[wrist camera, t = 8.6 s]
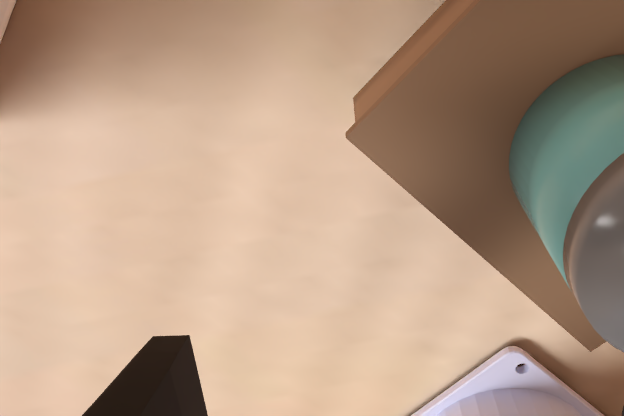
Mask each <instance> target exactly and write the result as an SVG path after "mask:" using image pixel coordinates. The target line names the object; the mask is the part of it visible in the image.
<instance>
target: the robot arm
mask: <svg viewBox="0 0 624 416" xmlns="http://www.w3.org/2000/svg"><path fill="white" fill-rule="evenodd" d="M519 364H524V365H523V366H521V367H517V365H519ZM82 416H208V415H207V410H206V406H205V402H204V397H203V393H202V388H201V384H200V380H199V375H198V371H197V367H196V362H195V358H194V353H193V349H192V345H191V340H190V336H189V335H183V336H153V337H152V338H151V339H150V340H149V341H148V342H147V343H146V345H145V346H144V347H143V348H142V349H141V350H140V351H139V352H138V353H137V354H136V356H135V357H134V358H133V359H132V360H131V361H130V362H129V363H128V365H127V366H126V367H125V368H124V369H123V370H122V371H121V373H120V374H119V375H118V376H117V377H116V378H115V379H114V380H113V382H112V383H111V384H110V385H109V386H108V387H107V388H106V389H105V391H104V392H103V393H102V394H101V395H100V396H99V397H98V398H97V400H96V401H95V402H94V403H93V404H92V405H91V406H90V407H89V408H88V409H87V411H86V412H85V413H84V414H83V415H82ZM411 416H604V415H603V414H602V413H601V412H599V411H598V410H597V409H596V408H594V407H593V406H592V405H591V404H589V403H588V402H587V401H586V400H584V399H583V398H582V397H581V396H580V395H578V394H577V393H576V392H575V391H573V390H572V389H571V388H570V387H568V386H567V385H566V384H565V383H563V382H562V381H561V380H560V379H558V378H557V377H556V376H555V375H554V374H552V373H551V372H550V371H549V370H547V369H546V368H545V367H544V366H542V365H541V364H540V363H539V362H537V361H536V360H535V359H534V358H532V357H531V356H530V355H529V354H528V353H526V352H525V351H524V350H523V349H521V348H519V347H517V346H509V347H506V348H504V349H502V350H501V351H499V352H498V353H497V354H495V355H494V356H492V357H491V358H490V359H488V360H487V361H486V362H484V363H483V364H481V365H480V366H479V367H477V368H476V369H474V370H473V371H472V372H470V373H469V374H468V375H466V376H465V377H463V378H462V379H461V380H459V381H458V382H457V383H455V384H454V385H452V386H451V387H450V388H448V389H447V390H445V391H444V392H443V393H441V394H440V395H439V396H437V397H436V398H434V399H433V400H432V401H430V402H429V403H428V404H426V405H425V406H423V407H422V408H421V409H419V410H418V411H417V412H415V413H414V414H412V415H411ZM622 416H624V407H623V411H622Z"/></svg>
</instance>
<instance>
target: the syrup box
mask: <svg viewBox="0 0 624 416" xmlns="http://www.w3.org/2000/svg"><path fill="white" fill-rule="evenodd" d="M15 3H16V0H0V43H1V40H2V38H3V35H4V32H5V29H6V27H7V24H8V21H9V19H10V16H11V13H12V11H13V8H14V6H15Z"/></svg>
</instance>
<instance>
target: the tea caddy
mask: <svg viewBox="0 0 624 416" xmlns="http://www.w3.org/2000/svg"><path fill="white" fill-rule="evenodd" d="M509 174H510V180H511V184H512V187H513V190H514V192H515V195H516V197H517V199H518V201H519V202H520V204H521V206H522V208H523V209H524V211H525V213H526V214H527V216H528V218H529V220H530V221H531V223H532V225H533V226H534V228H535V230H536V232H537V233H538V235H539V237H540V239H541V240H542V242H543V244H544V245H545V247H546V249H547V251H548V252H549V254H550V256H551V257H552V259H553V261H554V263H555V264H556V266H557V268H558V269H559V271H560V273H561V275H562V276H563V278H564V280H565V282H566V283H567V285H568V287H569V288H570V290H571V292H572V294H573V295H574V297H575V299H576V300H577V302H578V304H579V306H580V307H581V309H582V311H583V313H584V314H585V316H586V318H587V319H588V321H589V322H590V324H591V325H592V327H593V328H594V329H595V330H596V332H597V333H598V334H599V335H600V336H601V337H602V338H603V339H604V340H606V341H607V342H608V343H610V344H611V345H612V346H614V347H615V348H617V349H619V350H621V351H622V352H624V54H622V55H614V56H610V57H605V58H601V59H598V60H595V61H592V62H589V63H587V64H584V65H582V66H580V67H578V68H576V69H574V70H572V71H570V72H569V73H567V74H566V75H564V76H562V77H561V78H559V79H558V80H557V81H555V82H554V83H553V84H552V85H550V86H549V87H548V88H547V89H546V90H545V91H544V92H543V93H542V94H541V95H540V96H539V97H538V98H537V99H536V100H535V101H534V102H533V104H532V105H531V106H530V107H529V109H528V110H527V112H526V113H525V115H524V116H523V118H522V120H521V121H520V123H519V125H518V128H517V130H516V132H515V135H514V138H513V141H512V144H511V149H510V154H509Z"/></svg>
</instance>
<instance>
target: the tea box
mask: <svg viewBox="0 0 624 416" xmlns="http://www.w3.org/2000/svg"><path fill="white" fill-rule="evenodd" d="M622 54H624V0H446V1H445V2H444V3H443V4H442V5H441V6H440V7H439V8H438V9H437V10H436V11H435V12H434V14H433V15H432V16H431V17H430V18H429V19H428V20H427V21H426V22H425V23H424V24H423V25H422V26H421V27H420V28H419V29H418V30H417V31H416V32H415V33H414V35H413V36H412V37H411V38H410V39H409V40H408V41H407V42H406V43H405V44H404V45H403V46H402V47H401V48H400V49H399V50H398V51H397V52H396V53H395V54H394V56H393V57H392V58H391V59H390V60H389V61H388V62H387V63H386V64H385V65H384V66H383V67H382V68H381V69H380V70H379V71H378V72H377V73H376V74H375V75H374V77H373V78H372V79H371V80H370V81H369V82H368V83H367V84H366V85H365V86H364V87H363V88H362V89H361V90H360V91H359V92H358V93H357V94H356V95H355V96H354V98H353V100H354V111H355V123H354V124H353V125H352V127H351V128H350V129H349V130H348V131H347V132H346V138H347V139H348V140H349V141H350V142H351V143H352V144H354V145H355V146H356V147H357V148H358V149H359V150H360V151H362V152H363V153H364V154H365V155H366V156H367V157H368V158H370V159H371V160H372V161H373V162H374V163H375V164H376V165H378V166H379V167H380V168H381V169H382V170H383V171H384V172H386V173H387V174H388V175H389V176H390V177H391V178H392V179H394V180H395V181H396V182H397V183H398V184H399V185H400V186H402V187H403V188H404V189H405V190H406V191H407V192H408V193H410V194H411V195H412V196H413V197H414V198H415V199H416V200H418V201H419V202H420V203H421V204H422V205H423V206H424V207H426V208H427V209H428V210H429V211H430V212H431V213H432V214H434V215H435V216H436V217H437V218H438V219H439V220H440V221H442V222H443V223H444V224H445V225H446V226H447V227H448V228H450V229H451V230H452V231H453V232H454V233H455V234H456V235H458V236H459V237H460V238H461V239H462V240H463V241H464V242H466V243H467V244H468V245H469V246H470V247H471V248H472V249H474V250H475V251H476V252H477V253H478V254H479V255H480V256H482V257H483V258H484V259H485V260H486V261H487V262H488V263H490V264H491V265H492V266H493V267H494V268H495V269H496V270H498V271H499V272H500V273H501V274H502V275H503V276H504V277H506V278H507V279H508V280H509V281H510V282H511V283H512V284H514V285H515V286H516V287H517V288H518V289H519V290H520V291H522V292H523V293H524V294H525V295H526V296H527V297H528V298H530V299H531V300H532V301H533V302H534V303H535V304H536V305H538V306H539V307H540V308H541V309H542V310H543V311H544V312H546V313H547V314H548V315H549V316H550V317H551V318H552V319H554V320H555V321H556V322H557V323H558V324H559V325H561V326H562V327H563V328H564V329H565V330H566V331H567V332H569V333H570V334H571V335H572V336H573V337H574V338H575V339H577V340H578V341H579V342H580V343H581V344H582V345H583V346H585V347H586V348H587V349H588V350H589V351H590V352H591V351H592V350H594V349H596V348H597V347H599V346H600V345H602V344H603V343H605V342H606V340H604V339H603V338H602V337H601V336H600V335H599V334H598V333H597V332H596V330H595V329H594V328H593V327H592V325H591V324H590V322H589V321H588V319H587V318H586V316H585V314H584V313H583V311H582V309H581V307H580V306H579V304H578V302H577V300H576V299H575V297H574V295H573V294H572V292H571V290H570V288H569V287H568V285H567V283H566V282H565V280H564V278H563V276H562V275H561V273H560V271H559V269H558V268H557V266H556V264H555V263H554V261H553V259H552V257H551V256H550V254H549V252H548V251H547V249H546V247H545V245H544V244H543V242H542V240H541V239H540V237H539V235H538V233H537V232H536V230H535V228H534V226H533V225H532V223H531V221H530V220H529V218H528V216H527V214H526V213H525V211H524V209H523V208H522V206H521V204H520V202H519V201H518V199H517V197H516V195H515V192H514V190H513V187H512V184H511V180H510V174H509V154H510V149H511V144H512V141H513V138H514V135H515V132H516V130H517V128H518V125H519V123H520V121H521V120H522V118H523V116H524V115H525V113H526V112H527V110H528V109H529V107H530V106H531V105H532V104H533V102H534V101H535V100H536V99H537V98H538V97H539V96H540V95H541V94H542V93H543V92H544V91H545V90H546V89H547V88H548V87H549V86H550V85H552V84H553V83H554V82H555V81H557V80H558V79H559V78H561V77H562V76H564V75H566V74H567V73H569V72H570V71H572V70H574V69H576V68H578V67H580V66H582V65H584V64H587V63H589V62H592V61H595V60H598V59H601V58H605V57H610V56H614V55H622Z"/></svg>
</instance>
